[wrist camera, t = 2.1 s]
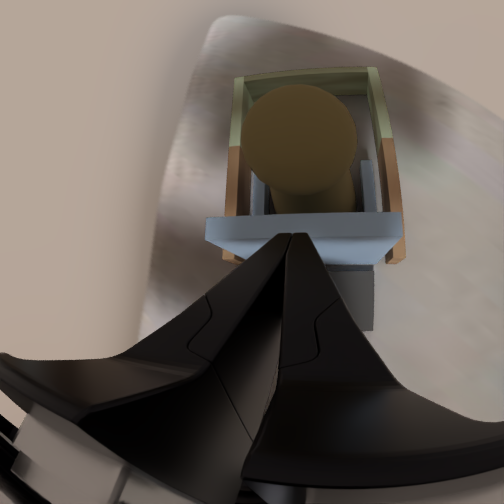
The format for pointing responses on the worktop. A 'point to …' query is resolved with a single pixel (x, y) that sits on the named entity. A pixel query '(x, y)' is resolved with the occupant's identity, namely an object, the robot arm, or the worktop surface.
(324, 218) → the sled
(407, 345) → the worktop surface
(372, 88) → the track
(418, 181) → the worktop surface
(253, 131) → the cork
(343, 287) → the pit mat
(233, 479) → the robot arm
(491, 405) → the worktop surface
